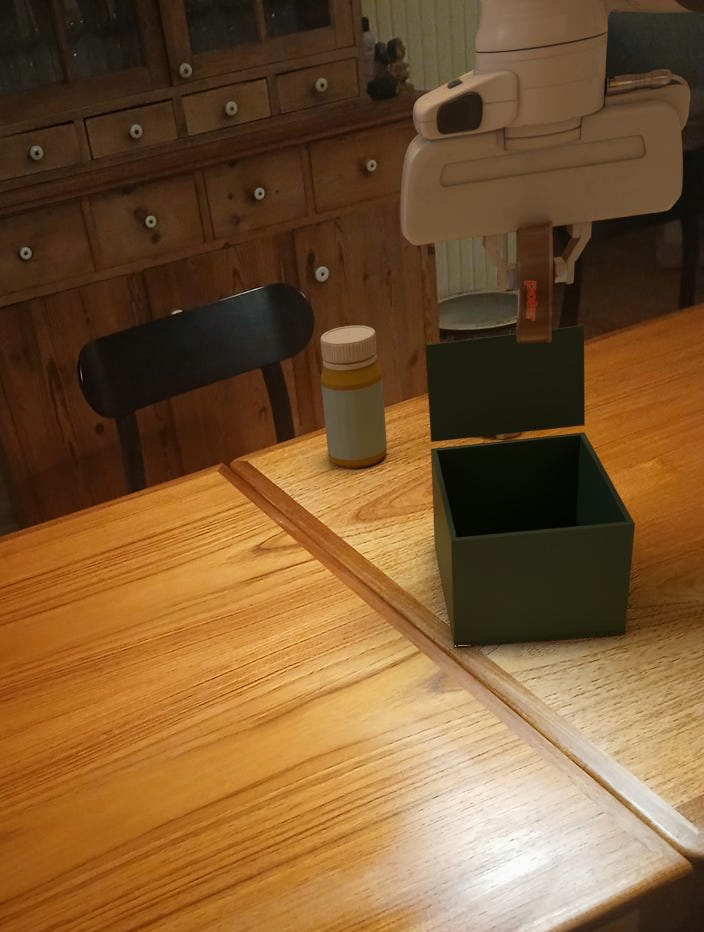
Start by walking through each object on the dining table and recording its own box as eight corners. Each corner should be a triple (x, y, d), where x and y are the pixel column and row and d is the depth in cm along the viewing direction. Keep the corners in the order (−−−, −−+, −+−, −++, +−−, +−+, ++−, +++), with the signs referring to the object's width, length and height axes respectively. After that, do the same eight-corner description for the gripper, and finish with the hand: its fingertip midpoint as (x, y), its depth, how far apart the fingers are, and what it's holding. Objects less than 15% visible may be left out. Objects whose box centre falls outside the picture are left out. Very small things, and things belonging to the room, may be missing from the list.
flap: (425, 344, 90) (425, 344, 90) (431, 442, 93) (430, 441, 93) (584, 325, 88) (583, 325, 88) (584, 425, 90) (583, 424, 91)
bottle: (324, 451, 122) (311, 331, 113) (379, 441, 122) (371, 320, 113) (334, 474, 116) (322, 349, 108) (393, 463, 116) (385, 337, 108)
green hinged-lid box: (454, 647, 84) (451, 540, 78) (434, 545, 99) (430, 448, 93) (625, 634, 82) (635, 523, 76) (579, 531, 97) (584, 432, 91)
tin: (551, 358, 73) (562, 240, 68) (507, 359, 74) (515, 241, 69) (549, 297, 85) (558, 192, 80) (511, 298, 86) (517, 194, 81)
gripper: (679, 60, 71) (661, 258, 79) (393, 105, 74) (402, 292, 82) (707, 68, 66) (685, 279, 73) (398, 117, 69) (407, 314, 77)
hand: (534, 286), depth 78 cm, fingers closed on tin, 3 cm apart
